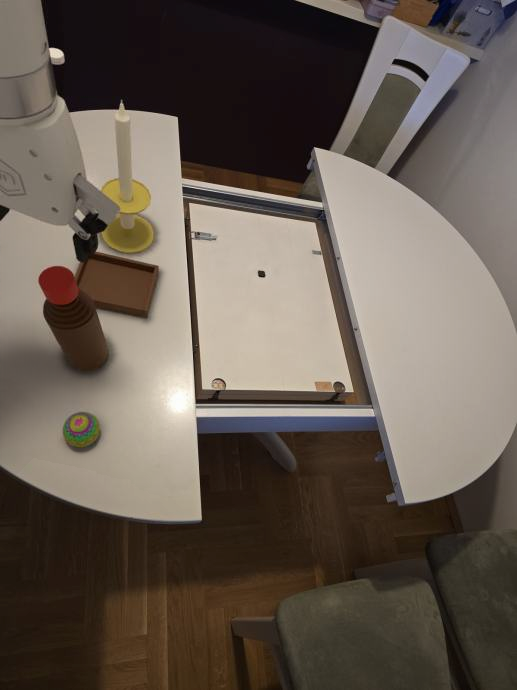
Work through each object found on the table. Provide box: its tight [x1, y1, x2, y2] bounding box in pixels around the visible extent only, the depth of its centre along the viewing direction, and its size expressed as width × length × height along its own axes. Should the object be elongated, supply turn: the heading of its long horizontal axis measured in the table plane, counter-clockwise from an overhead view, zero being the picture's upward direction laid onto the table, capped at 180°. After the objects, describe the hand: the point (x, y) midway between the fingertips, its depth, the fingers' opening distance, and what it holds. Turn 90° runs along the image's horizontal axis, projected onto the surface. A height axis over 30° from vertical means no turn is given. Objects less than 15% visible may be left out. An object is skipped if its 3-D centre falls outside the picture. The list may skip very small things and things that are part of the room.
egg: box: [62, 411, 101, 448], centre depth 56 cm, size 5×5×6 cm
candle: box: [100, 99, 155, 254], centre depth 66 cm, size 10×10×27 cm
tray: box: [74, 250, 160, 319], centre depth 70 cm, size 13×10×2 cm
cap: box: [37, 265, 79, 305], centre depth 47 cm, size 4×4×3 cm
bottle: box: [42, 289, 110, 372], centre depth 55 cm, size 6×6×20 cm
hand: (43, 235), depth 42 cm, fingers open, 9 cm apart
